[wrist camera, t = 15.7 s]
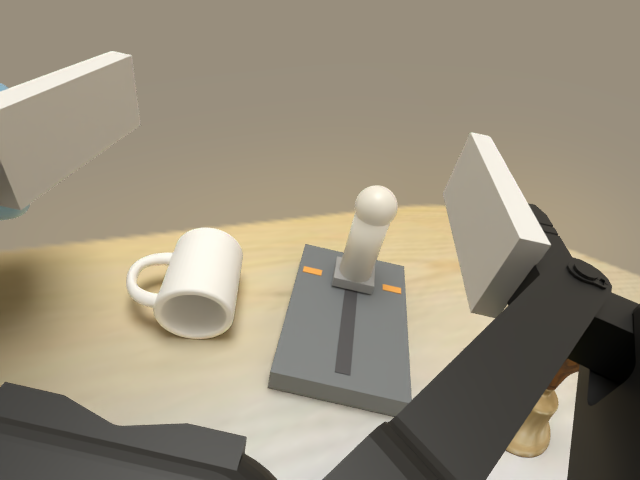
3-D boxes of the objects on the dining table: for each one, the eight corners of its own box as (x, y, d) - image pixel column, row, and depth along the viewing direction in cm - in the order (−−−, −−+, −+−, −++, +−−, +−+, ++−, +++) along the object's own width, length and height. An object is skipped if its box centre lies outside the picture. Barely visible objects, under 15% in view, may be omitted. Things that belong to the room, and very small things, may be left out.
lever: (331, 287, 46) (357, 194, 37) (335, 262, 49) (359, 173, 41) (371, 296, 46) (405, 206, 37) (372, 270, 49) (404, 183, 41)
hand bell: (562, 463, 37) (689, 378, 27) (483, 451, 37) (582, 360, 27) (531, 386, 44) (624, 294, 34) (463, 375, 43) (537, 279, 33)
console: (267, 387, 38) (270, 371, 36) (302, 259, 53) (305, 243, 52) (402, 418, 38) (412, 403, 36) (397, 281, 53) (404, 265, 51)
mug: (241, 277, 49) (244, 230, 44) (232, 341, 41) (234, 293, 36) (145, 270, 47) (136, 219, 42) (117, 336, 39) (102, 284, 34)
